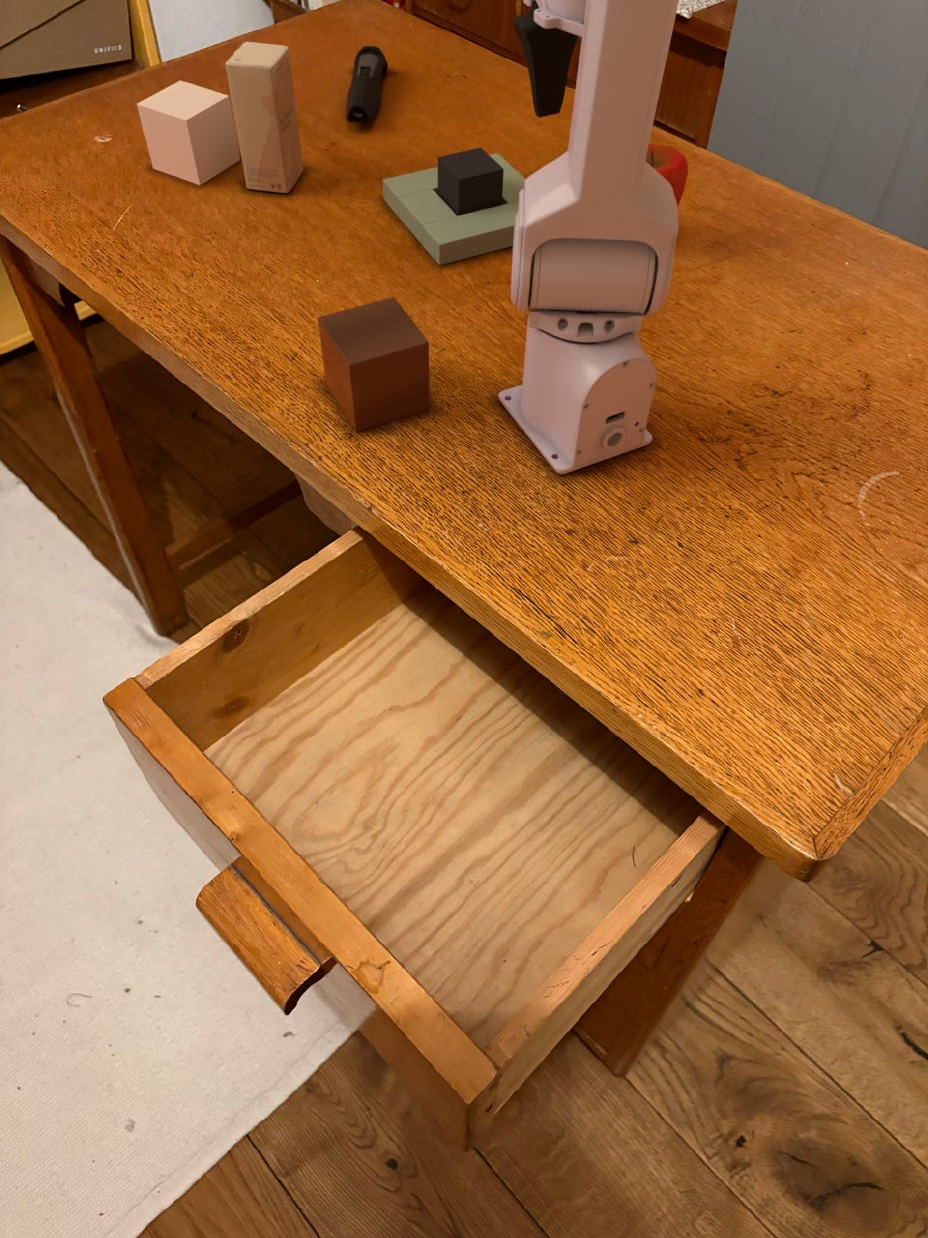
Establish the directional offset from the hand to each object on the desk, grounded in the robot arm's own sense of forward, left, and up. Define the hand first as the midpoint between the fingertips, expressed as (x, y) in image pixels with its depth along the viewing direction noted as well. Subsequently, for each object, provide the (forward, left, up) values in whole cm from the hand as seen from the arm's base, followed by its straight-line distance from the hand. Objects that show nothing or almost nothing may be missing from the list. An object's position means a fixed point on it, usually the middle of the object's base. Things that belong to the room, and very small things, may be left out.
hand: (571, 133), depth 75 cm
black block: (+7, +6, -9) cm, 13 cm away
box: (+21, +20, -10) cm, 30 cm away
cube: (-13, +24, -9) cm, 28 cm away
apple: (-2, -7, -5) cm, 9 cm away
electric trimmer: (+33, +5, -10) cm, 35 cm away
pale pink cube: (+27, +26, -10) cm, 38 cm away
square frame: (+7, +6, -9) cm, 13 cm away
